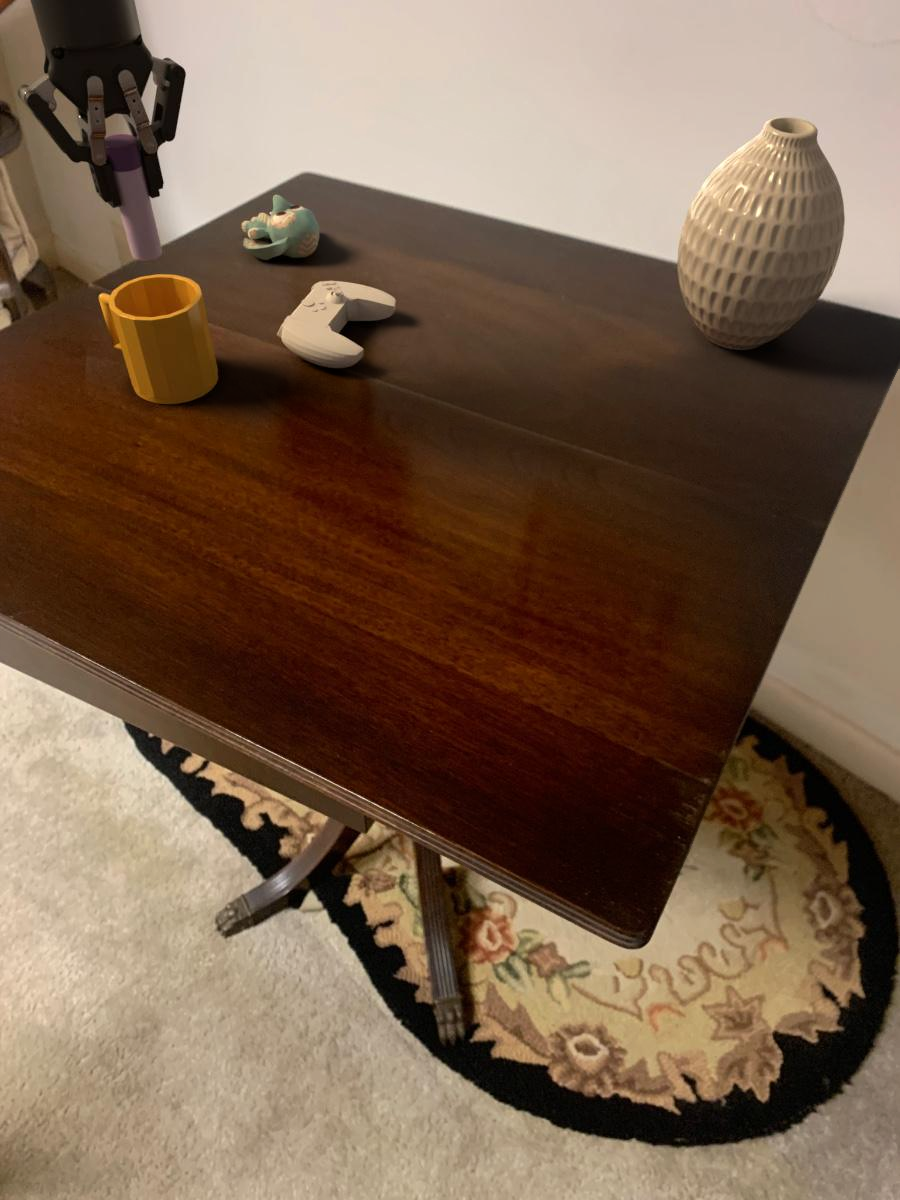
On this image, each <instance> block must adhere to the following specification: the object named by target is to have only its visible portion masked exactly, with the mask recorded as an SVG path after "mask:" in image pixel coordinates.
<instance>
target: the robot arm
mask: <svg viewBox="0 0 900 1200" xmlns="http://www.w3.org/2000/svg"><path fill="white" fill-rule="evenodd" d="M30 3H31V7H32V10H33V14H34V17H35V18H34V19H35V21H36V24H37V28H38V31H39V35H40V38H41V42H42V45H43V48H44V56H45V57H44V63H43V73H44V74H42V75H41V77H39V78H37V80H35V81H34V82H32V84H30V85H28V84H21V85H20V86H19V87H18V88H17V96H18V97H19V99H20V100H21V101H22V103H23V104H24V105H25V106H26V107H27V109H28V110H29V111H30V113H31V114H32V115H33V116H34V118H35V119H36V120H37V121H38V123H39V124H40V125H41V126H42V128H43V129H44V131H46V133H47V135H49V137H50V139H52V141H53V142H54V143H55V145H56V146H57V147H58V149H60V151H61V152H62V153H63V154H64V155H66V156H67V158H68V159H69V160H70V161H71V162H72V163H75V164H79V163H81V162H83V163H87V165H88V167H89V171H90V175H91V178H92V181H93V185H94V189H95V192H96V193H97V195H98V196H99V198H100V199H102V201H103V202H104V203H105V204H106V203H108V205H109V206H111V208H113V209H115V208H119V207H120V206H121V201H120V197H119V193H118V189H117V185H116V182H115V178H114V174H113V170H112V166H111V164H110V163H109V162H108V161H107V157H106V146H105V138H106V137H107V125H106V119H108V118H110V117H112V116H113V115H121V116H122V118H123V119H124V120H125V122H126V125H127V128H128V130H129V133H130V135H132V136H134V137H136V138H137V141H138V145H139V149H140V154H141V158H142V162H143V163H142V167H143V172H144V176H145V180H146V184H147V189H148V193H149V197H150V199H156V198H159V197H160V196H161V192H160V190H162V189H164V185H165V184H164V183H165V182H164V177H163V174H162V173H163V171H162V168H161V164H160V159H159V155H158V151H159V148H160V147H161V146H162V145H164V144H165V143H167V142H168V143H170V142H172V141H174V140H175V138H176V134H177V128H178V122H179V116H180V110H181V106H182V100H183V93H184V88H185V84H186V83H185V82H186V76H187V71H186V70H185V68H184V67H183V66H182V65H180V64H179V63H177V62H176V61H174V60H173V59H171V58H170V57H164V58H159V57H155V56H153V55H152V53H151V50H149V48H148V47H147V45H146V44H145V42H144V39H143V34H142V30H141V25H140V20H139V15H138V10H137V6H136V1H135V0H30ZM151 73H152V81H153V83H154V85H155V86H156V90H155V97H154V103H153V109H152V115H151V121H150V118H149V116H148V114H147V110H146V108H145V106H144V103H143V100H142V98H143V95H144V92H145V89H146V87H147V84H148V82H149V79H150V76H151ZM55 90H57V91H58V92H59V93H60V94H62V96H64V97H65V98H66V99H67V100H68V101H70V103H71V104H73V105H74V106H75V115H76V121H77V124H78V127H79V133H80V140H76V139H74V138H73V137H72V135H71V134H70V132H68V130H67V129H66V127H65V126H64V125H63V124H62V122H61V121H60V120H59V119H58V117H57V115H56V114H55V113H54V112H55V111H56V110H57V107H58V104H57V100H56V99H55V97H54V94H55Z"/></svg>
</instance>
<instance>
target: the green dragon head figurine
mask: <svg viewBox="0 0 900 1200" xmlns="http://www.w3.org/2000/svg"><path fill="white" fill-rule="evenodd" d="M272 205H273V206H272V207H273V208H272V211H270V212H269V214H268V213H265V212H259V213H258V214H257V216H252V218H251V219H250V220H244V221H243V222H242V223H241V229H242V232H243V233H246V234H247V236H248V238H247V237H244V238H243V241H242V245H243V247H244V249H245V250H246V251H247V252H248V253H249V254H251V256H253V257H254V258H257V259H258V260H259V259H260V260H264V261H269V260H270V259H272V258H276V257H278V256H282V255H283V256H287V257H289V258H292V259H298V258H307V257H309V256H311V255H312V254H313V253H314V252H315V251H316V250H317V248H318V246H319V245H318V244H319V240H320V233H321V231H320V229H321V227H320V224H319V223H318V222H317V219H316V217H315V214H314V213H313V211H312V210H311V209H309V208H306V207H304V206H301V205H298V204H297V205H296V204H295V205H294V204H292V203H290V202H289V201H287V200H286V198H284V197H283V196H281V195H279V194H274V195H273V197H272ZM262 238H265V239H270V240H271V242H272V243H269V244H265V243H262V242H259V241H256V240H258V239H262Z"/></svg>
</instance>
